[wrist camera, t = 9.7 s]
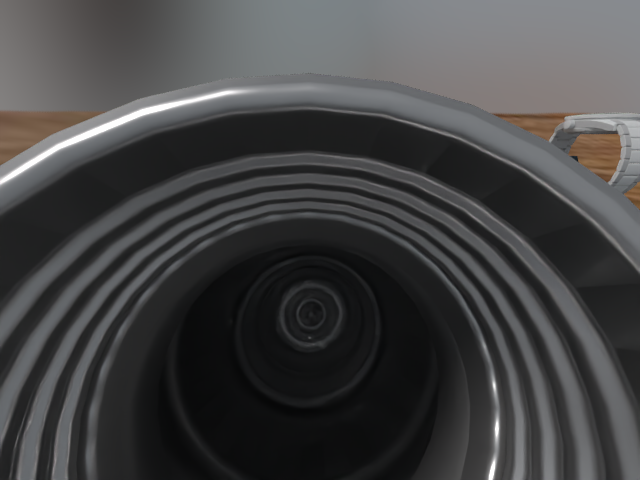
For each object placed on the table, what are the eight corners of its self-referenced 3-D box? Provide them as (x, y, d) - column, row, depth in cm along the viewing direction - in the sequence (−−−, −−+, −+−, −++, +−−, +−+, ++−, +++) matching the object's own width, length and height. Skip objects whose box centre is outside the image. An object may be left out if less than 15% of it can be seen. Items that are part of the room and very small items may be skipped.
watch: (549, 153, 34) (661, 84, 23) (562, 221, 32) (687, 182, 21) (501, 153, 34) (590, 83, 23) (511, 221, 32) (612, 182, 21)
